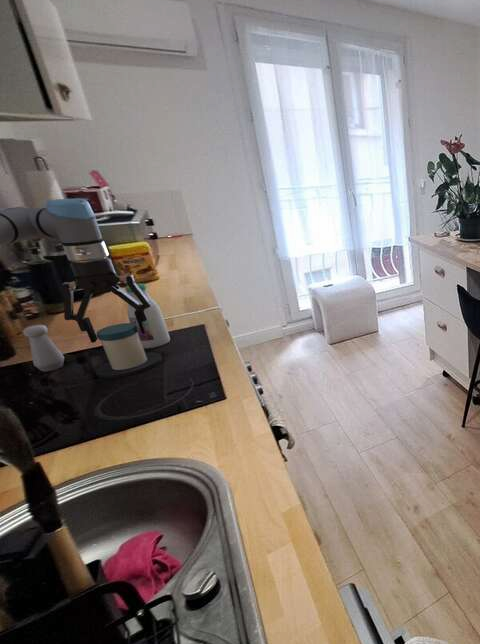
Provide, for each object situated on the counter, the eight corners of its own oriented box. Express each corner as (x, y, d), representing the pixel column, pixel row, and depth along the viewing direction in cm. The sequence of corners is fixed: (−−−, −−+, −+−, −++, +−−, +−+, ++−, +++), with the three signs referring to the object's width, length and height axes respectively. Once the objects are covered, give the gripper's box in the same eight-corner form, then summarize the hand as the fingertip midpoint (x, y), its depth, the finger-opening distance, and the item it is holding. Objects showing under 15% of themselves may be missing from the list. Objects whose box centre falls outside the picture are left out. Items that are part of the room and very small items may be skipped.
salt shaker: (32, 370, 115) (12, 328, 111) (60, 361, 120) (42, 321, 116) (44, 374, 114) (23, 332, 109) (71, 365, 119) (53, 324, 114)
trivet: (91, 383, 109) (89, 380, 109) (102, 363, 120) (101, 360, 120) (159, 369, 117) (158, 366, 117) (164, 350, 128) (163, 347, 127)
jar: (109, 372, 113) (95, 338, 109) (114, 361, 119) (101, 328, 115) (145, 364, 117) (133, 331, 114) (149, 354, 123) (137, 322, 119)
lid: (95, 343, 110) (93, 337, 109) (102, 332, 116) (99, 327, 115) (135, 336, 114) (133, 330, 113) (140, 326, 120) (138, 320, 119)
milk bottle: (163, 337, 137) (144, 280, 130) (175, 341, 134) (156, 283, 127) (134, 346, 130) (112, 286, 123) (146, 351, 127) (124, 290, 120)
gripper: (21, 269, 98) (59, 351, 106) (144, 256, 110) (169, 331, 118) (32, 262, 104) (67, 341, 112) (148, 251, 116) (172, 322, 124)
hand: (120, 336), depth 115 cm, fingers open, 10 cm apart
